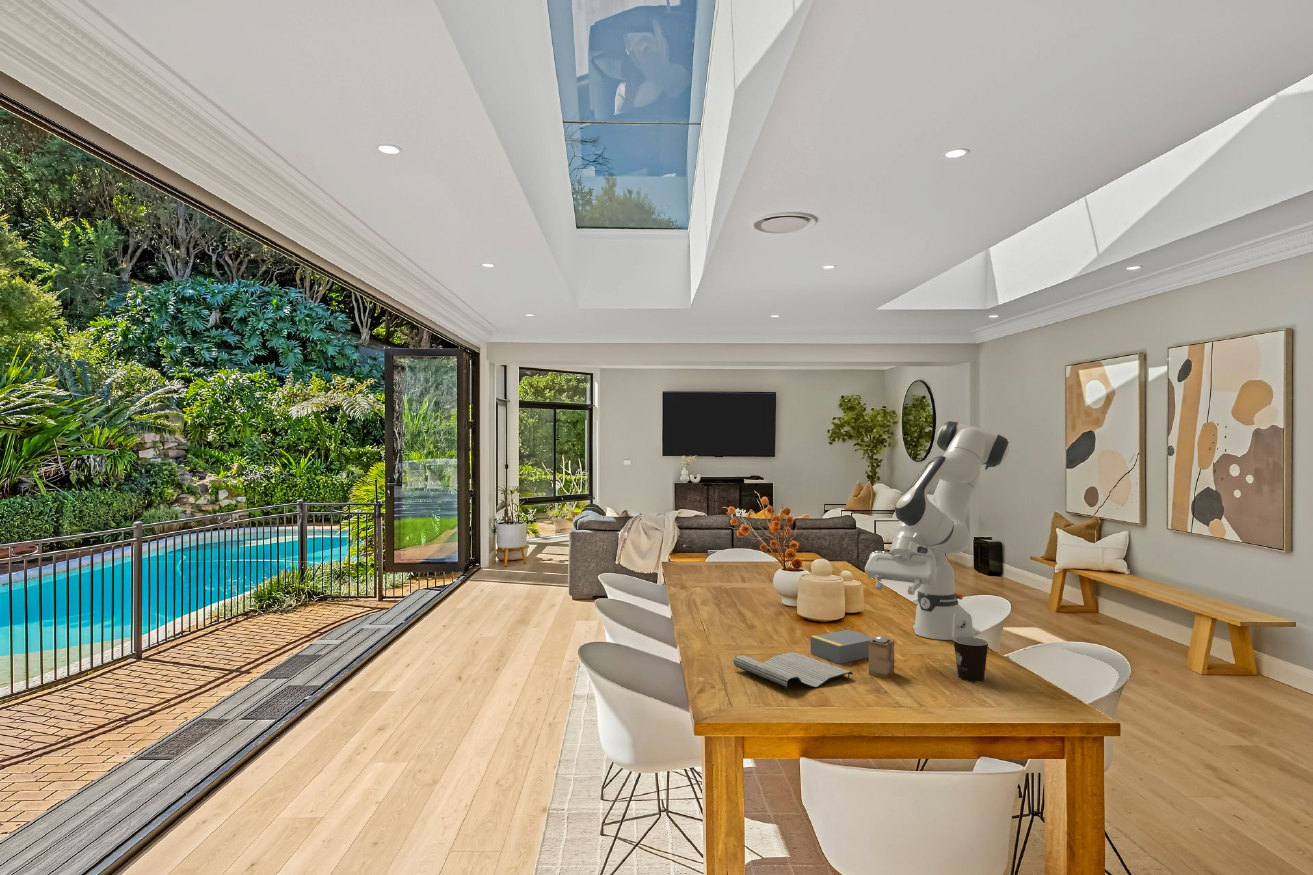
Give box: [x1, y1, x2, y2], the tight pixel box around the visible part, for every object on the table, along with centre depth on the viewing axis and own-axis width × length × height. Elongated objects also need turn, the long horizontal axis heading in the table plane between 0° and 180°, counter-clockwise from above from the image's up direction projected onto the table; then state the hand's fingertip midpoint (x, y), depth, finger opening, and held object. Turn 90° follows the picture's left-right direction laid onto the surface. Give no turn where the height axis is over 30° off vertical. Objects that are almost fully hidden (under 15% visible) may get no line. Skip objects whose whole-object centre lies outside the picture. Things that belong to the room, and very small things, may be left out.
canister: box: [874, 635, 888, 644], centre depth 188 cm, size 3×3×2 cm
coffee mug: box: [952, 636, 989, 683], centre depth 185 cm, size 12×9×10 cm
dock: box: [810, 629, 875, 665], centre depth 205 cm, size 16×12×5 cm
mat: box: [732, 651, 854, 693], centre depth 187 cm, size 23×24×5 cm
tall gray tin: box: [868, 637, 895, 679], centre depth 188 cm, size 6×5×9 cm
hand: (894, 591), depth 197 cm, fingers open, 8 cm apart
